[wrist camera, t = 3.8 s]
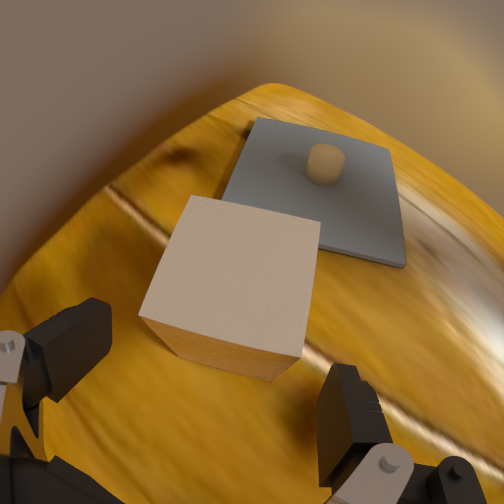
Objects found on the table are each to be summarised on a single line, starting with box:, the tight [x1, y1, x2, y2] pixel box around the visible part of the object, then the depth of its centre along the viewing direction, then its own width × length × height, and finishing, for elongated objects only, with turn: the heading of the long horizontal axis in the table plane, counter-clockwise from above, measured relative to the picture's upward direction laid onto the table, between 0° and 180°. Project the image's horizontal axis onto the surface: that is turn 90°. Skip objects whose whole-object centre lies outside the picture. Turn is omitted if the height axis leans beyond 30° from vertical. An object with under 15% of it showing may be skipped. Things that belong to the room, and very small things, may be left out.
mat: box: [221, 117, 406, 268], centre depth 25 cm, size 16×16×3 cm
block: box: [138, 195, 321, 382], centre depth 15 cm, size 6×6×8 cm
